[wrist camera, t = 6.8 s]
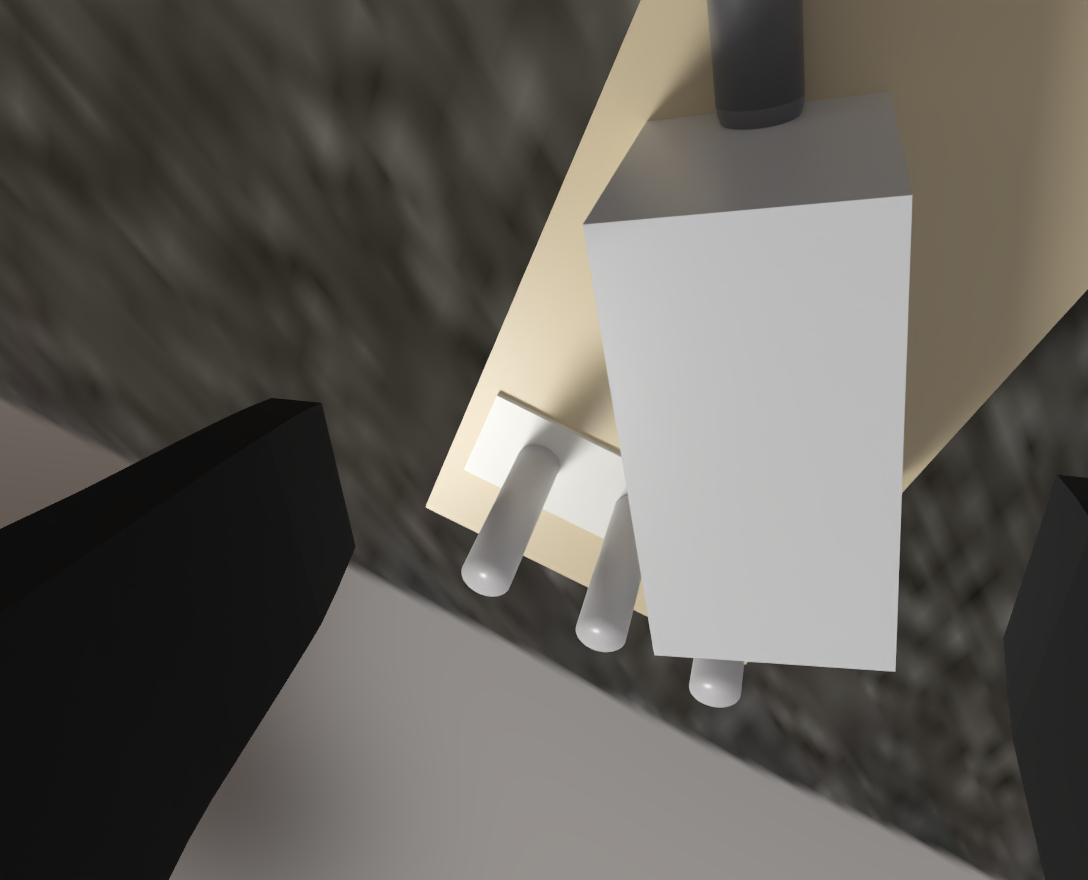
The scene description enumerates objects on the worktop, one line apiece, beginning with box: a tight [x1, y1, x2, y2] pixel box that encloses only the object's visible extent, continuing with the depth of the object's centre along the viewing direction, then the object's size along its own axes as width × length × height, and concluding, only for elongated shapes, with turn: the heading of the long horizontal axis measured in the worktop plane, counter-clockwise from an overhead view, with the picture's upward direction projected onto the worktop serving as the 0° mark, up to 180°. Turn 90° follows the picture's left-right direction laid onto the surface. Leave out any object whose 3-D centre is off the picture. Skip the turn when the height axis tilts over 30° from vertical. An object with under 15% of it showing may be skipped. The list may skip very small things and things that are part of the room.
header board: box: [426, 0, 1088, 707], centre depth 16 cm, size 9×16×5 cm, turn 158°
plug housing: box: [583, 0, 912, 672], centre depth 14 cm, size 4×14×5 cm, turn 11°
